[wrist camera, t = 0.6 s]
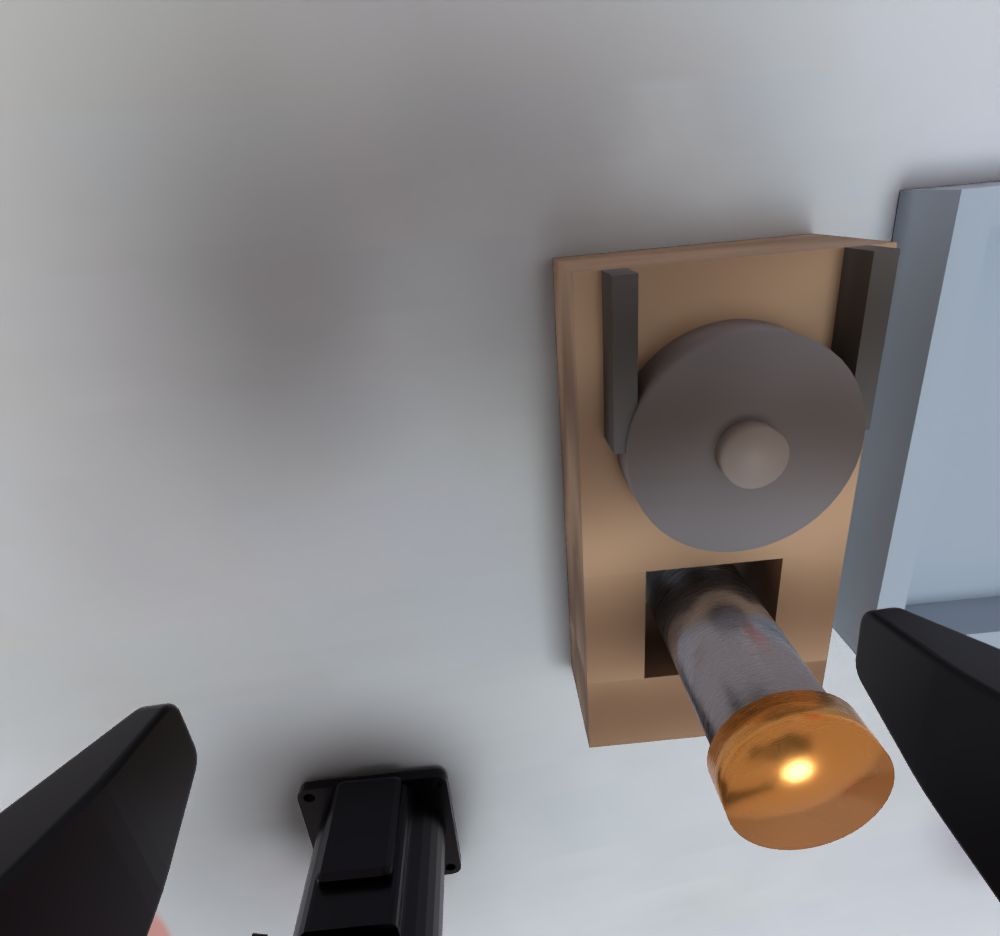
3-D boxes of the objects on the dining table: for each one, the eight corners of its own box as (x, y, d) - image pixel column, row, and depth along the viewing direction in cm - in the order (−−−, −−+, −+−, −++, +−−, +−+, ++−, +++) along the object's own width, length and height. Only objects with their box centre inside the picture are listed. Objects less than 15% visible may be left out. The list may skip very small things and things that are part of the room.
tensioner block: (765, 648, 25) (849, 776, 20) (571, 667, 25) (601, 801, 20) (813, 233, 19) (959, 248, 13) (552, 258, 19) (588, 283, 13)
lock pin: (719, 590, 24) (879, 841, 15) (622, 600, 24) (720, 857, 15) (725, 504, 22) (908, 722, 13) (621, 514, 22) (731, 740, 13)
